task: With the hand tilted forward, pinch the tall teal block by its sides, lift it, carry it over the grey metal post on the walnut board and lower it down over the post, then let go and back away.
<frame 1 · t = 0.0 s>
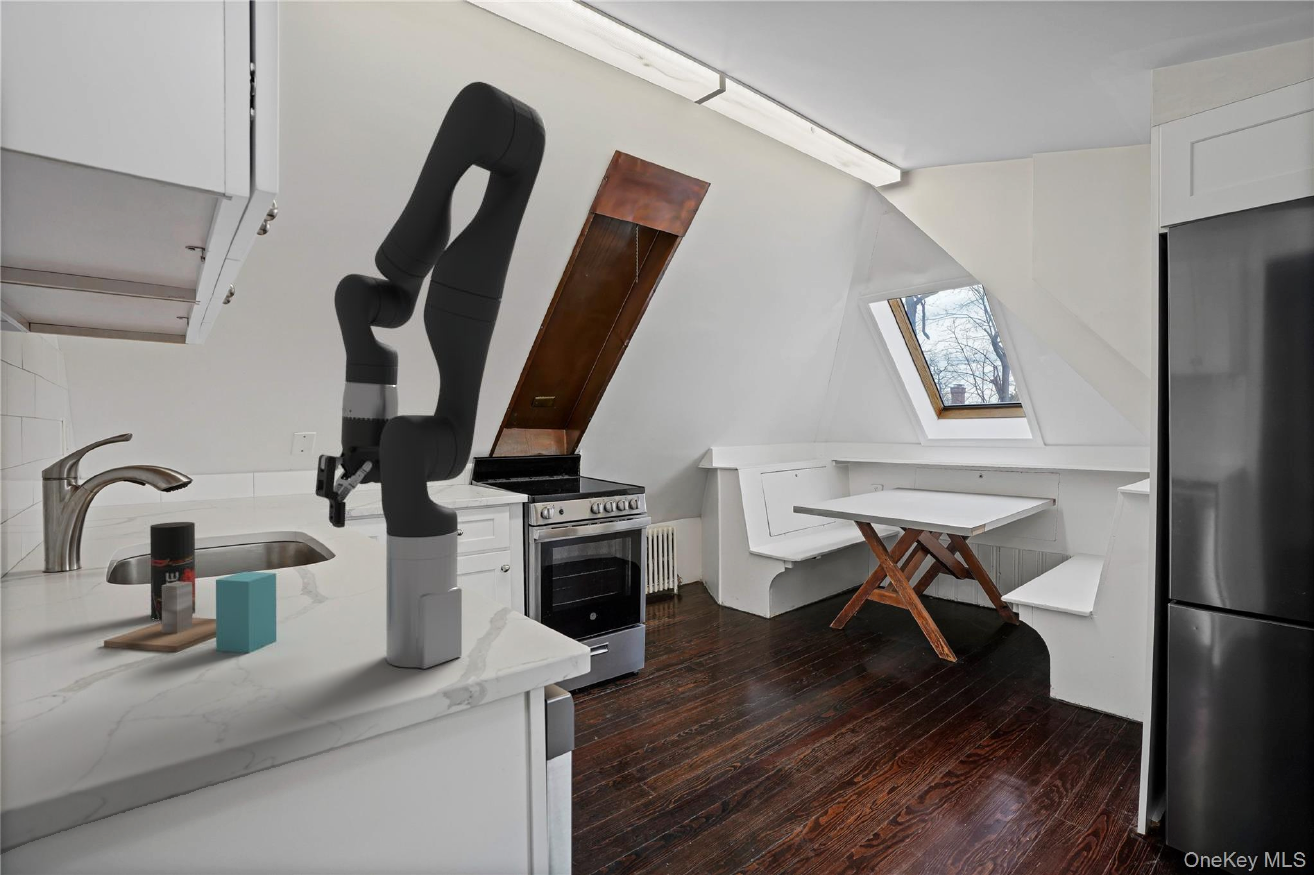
hand: (366, 523, 98), 17 cm above the counter, tool pointing down, fingers open, 8 cm apart
teal block: (247, 645, 95), on the counter
post board: (177, 635, 99), on the counter
deodorant: (173, 615, 109), on the counter
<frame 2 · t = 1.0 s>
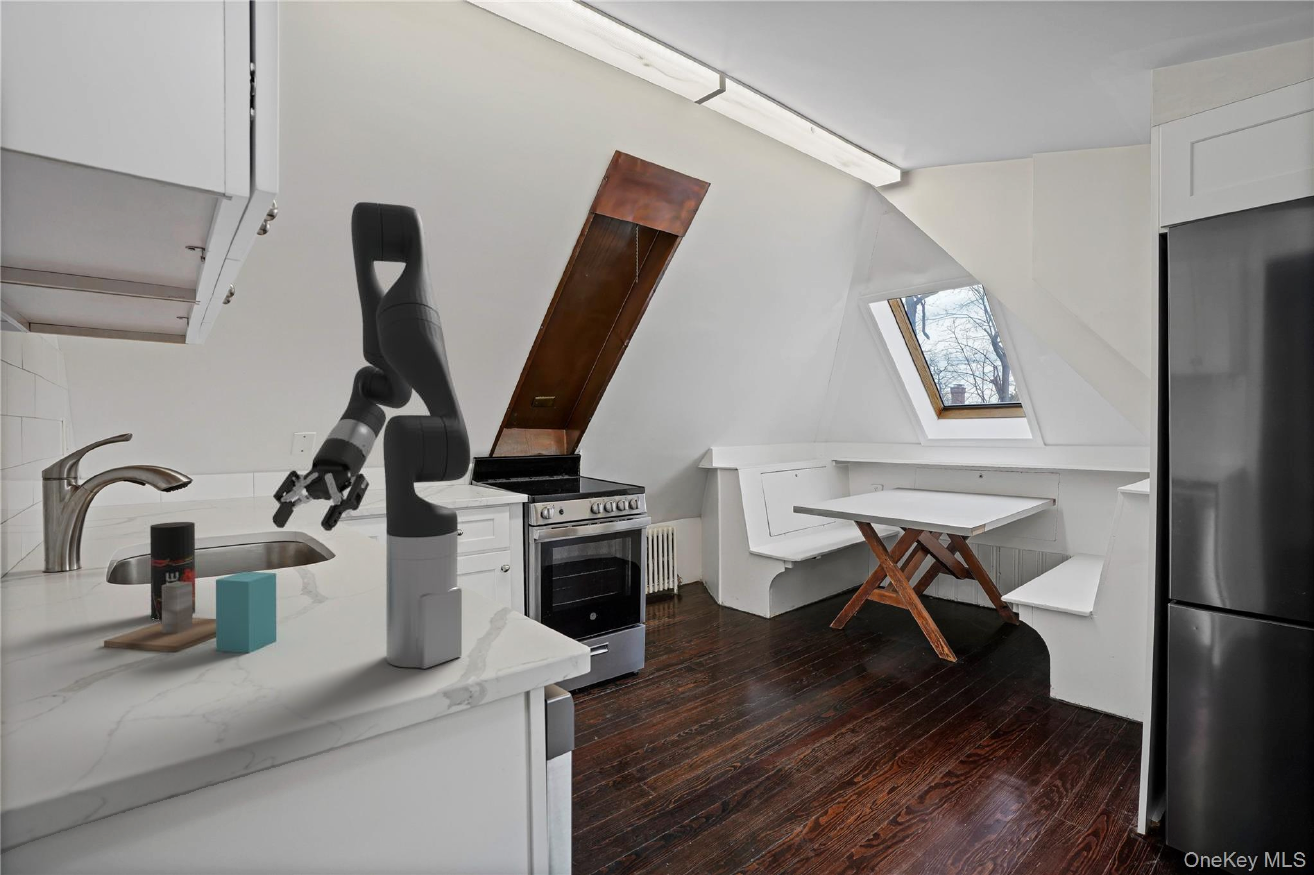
hand: (301, 526, 106), 15 cm above the counter, tool tilted 45°, fingers open, 8 cm apart
nothing on the counter moved.
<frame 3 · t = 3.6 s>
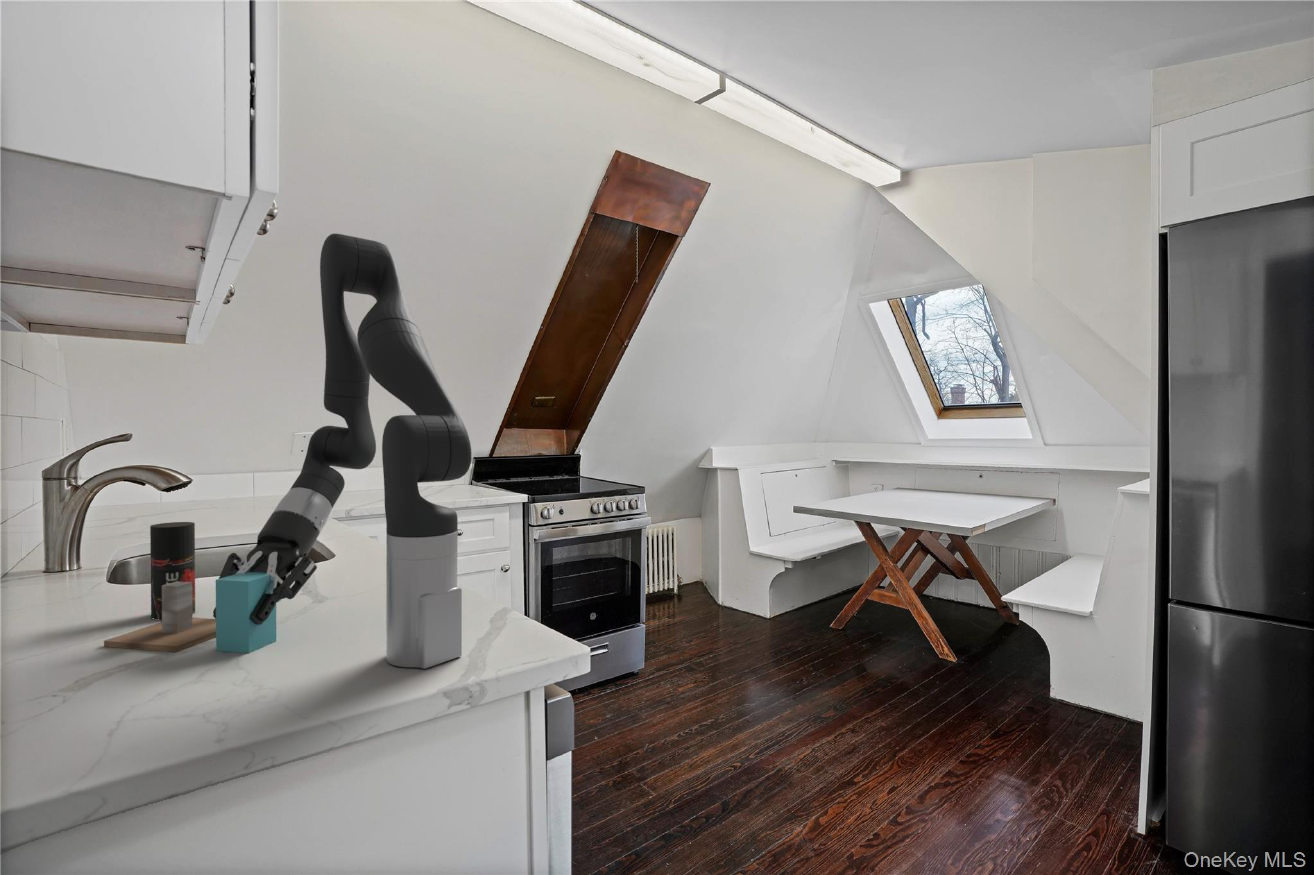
hand: (236, 620, 93), 4 cm above the counter, tool tilted 45°, fingers closed on teal block, 5 cm apart
teal block: (246, 645, 95), on the counter, touching gripper
everything else where it was.
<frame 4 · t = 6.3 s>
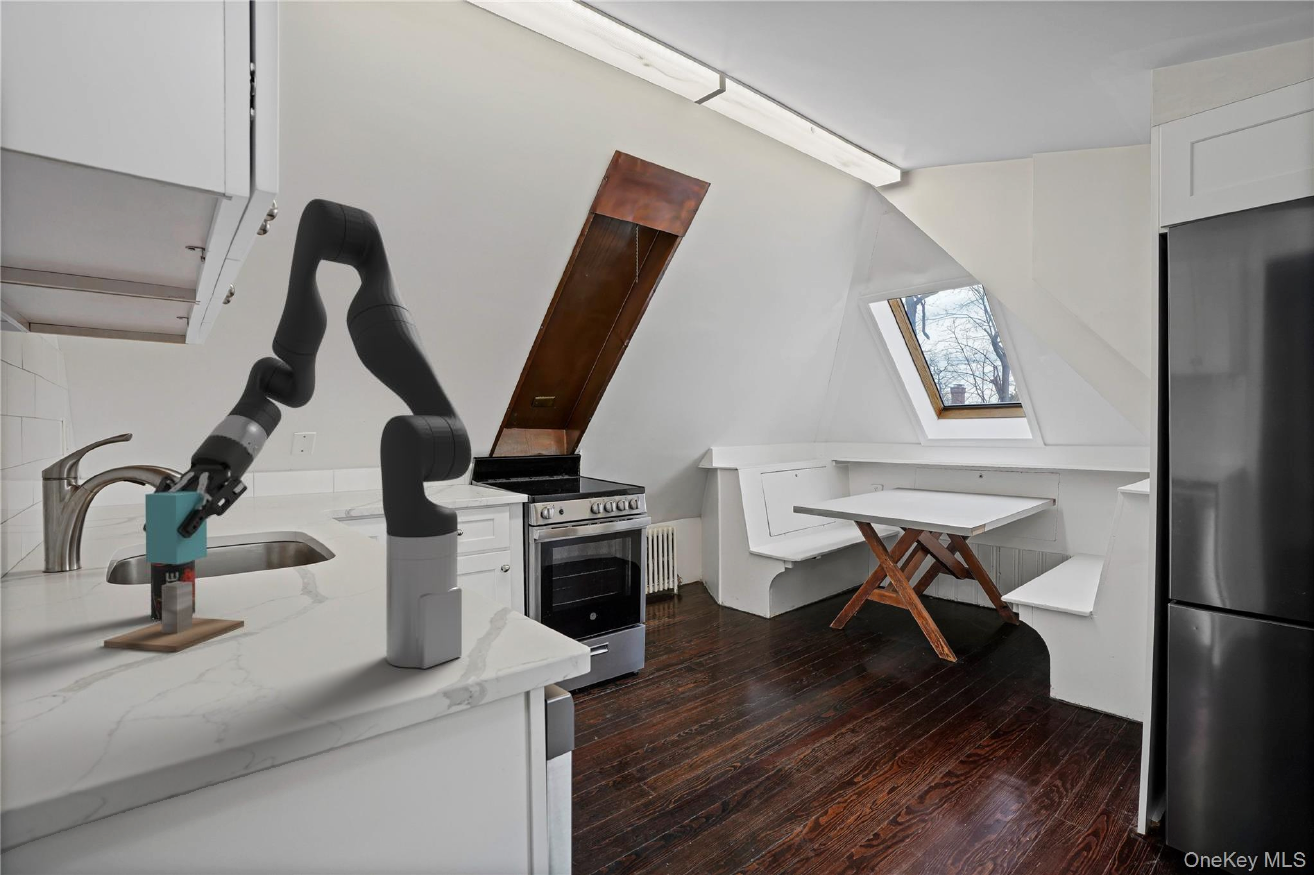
hand: (165, 533, 97), 16 cm above the counter, tool tilted 45°, fingers closed on teal block, 5 cm apart
teal block: (177, 559, 99), point 11 cm above the counter, touching gripper
everything else where it was.
when the fingers open (6 cm above the counter, at t = 8.9 s): teal block stays where it is, resting on post board.
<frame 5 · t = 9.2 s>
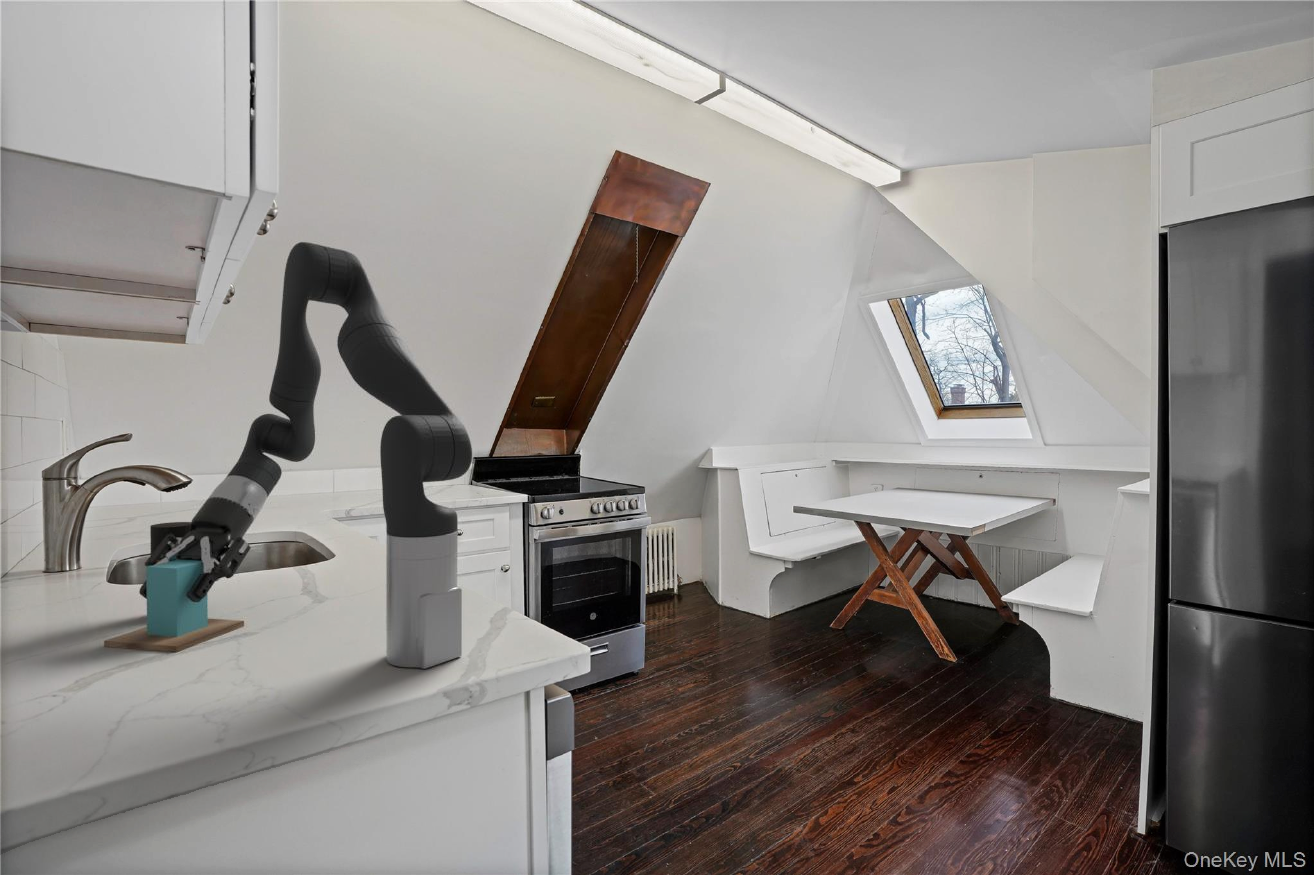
hand: (168, 597, 97), 6 cm above the counter, tool tilted 45°, fingers open, 7 cm apart
teal block: (177, 630, 99), point 1 cm above the counter, touching post board
everything else where it was.
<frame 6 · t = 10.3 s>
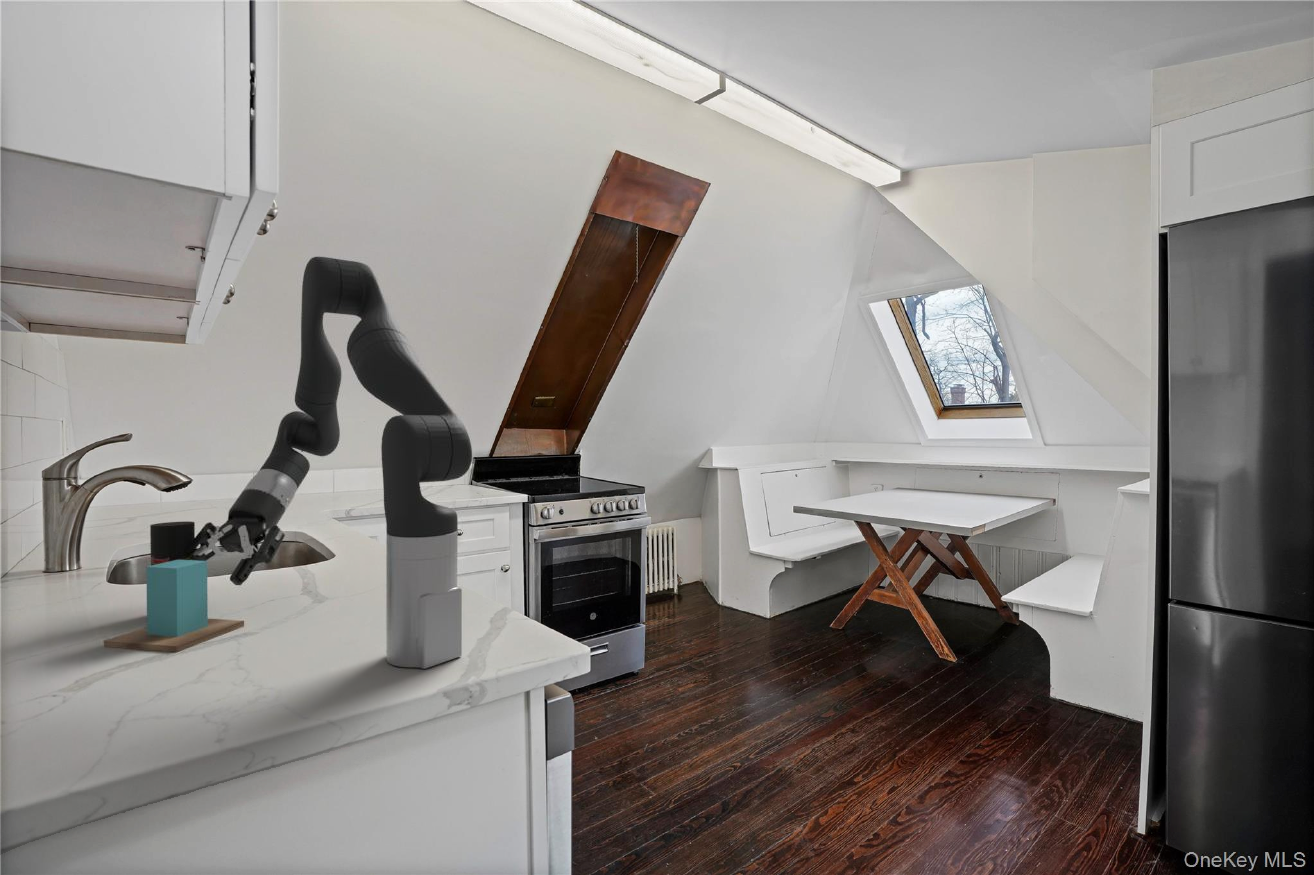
hand: (211, 581, 105), 7 cm above the counter, tool tilted 45°, fingers open, 8 cm apart
nothing on the counter moved.
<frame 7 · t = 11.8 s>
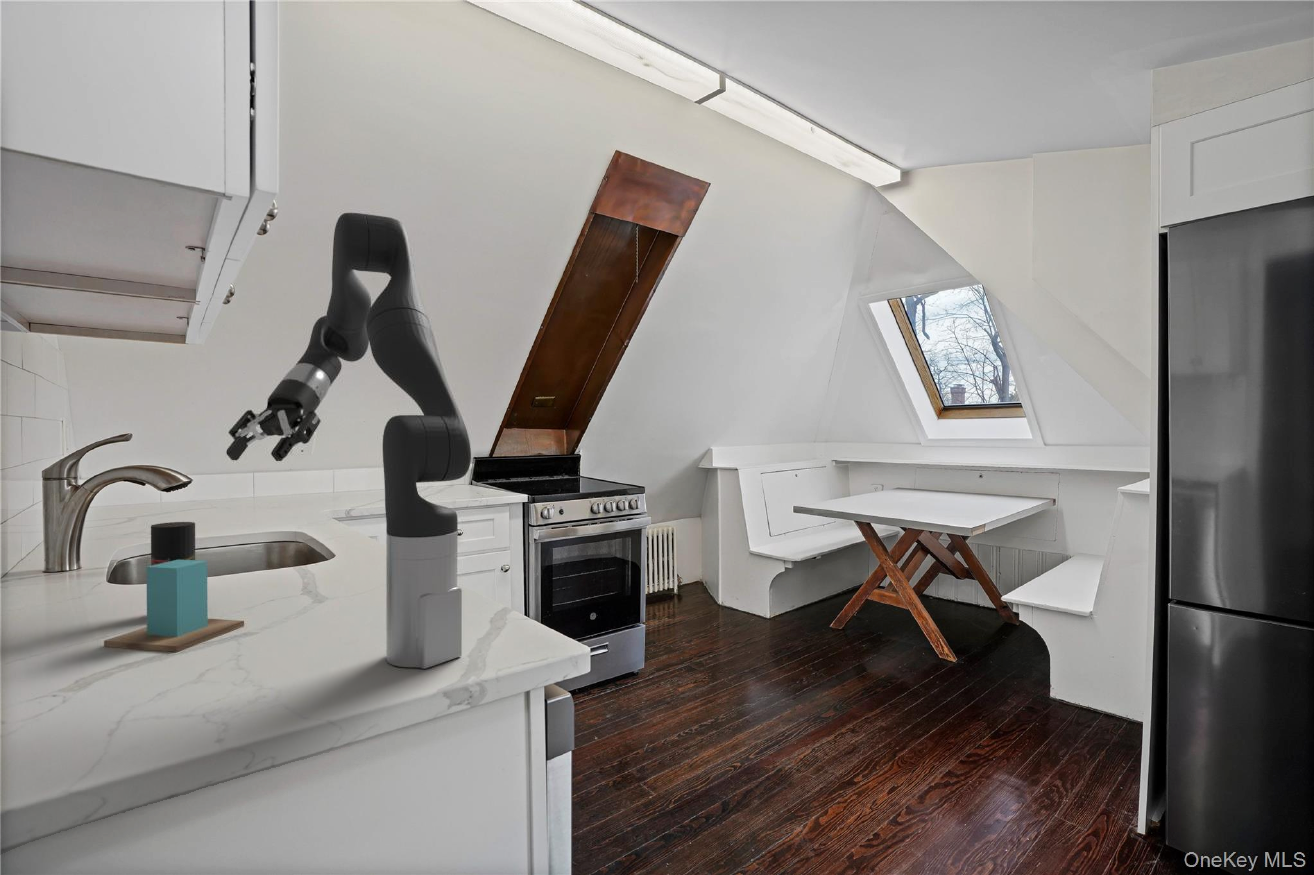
hand: (253, 457, 111), 26 cm above the counter, tool tilted 45°, fingers open, 8 cm apart
nothing on the counter moved.
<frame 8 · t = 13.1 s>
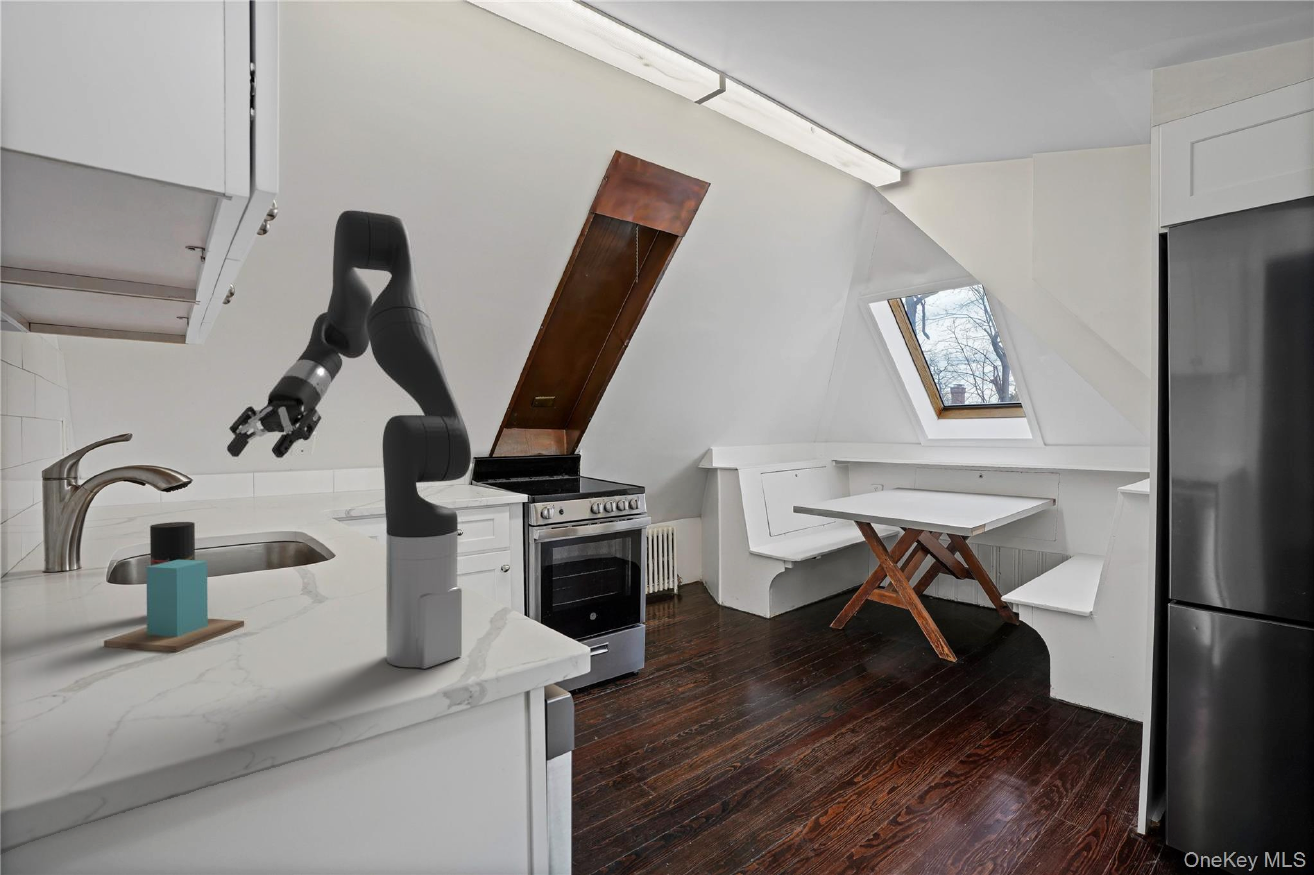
hand: (253, 454, 111), 27 cm above the counter, tool tilted 45°, fingers open, 8 cm apart
nothing on the counter moved.
at the end: teal block 0.1 cm from the post board (horizontally); teal block point 0.8 cm above the counter; the gripper is holding nothing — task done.
